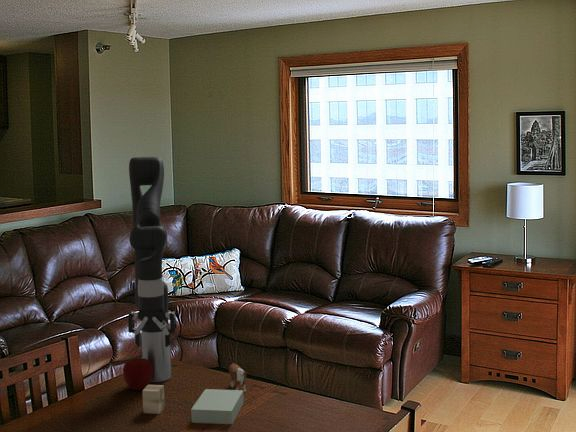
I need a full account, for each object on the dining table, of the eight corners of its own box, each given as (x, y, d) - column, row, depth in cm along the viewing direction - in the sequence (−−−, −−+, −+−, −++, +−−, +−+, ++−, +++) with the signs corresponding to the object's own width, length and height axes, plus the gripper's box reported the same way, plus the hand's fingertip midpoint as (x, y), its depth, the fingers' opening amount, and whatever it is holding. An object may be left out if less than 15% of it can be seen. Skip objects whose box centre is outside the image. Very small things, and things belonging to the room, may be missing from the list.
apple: (144, 395, 235) (143, 364, 234) (118, 392, 238) (116, 362, 237) (158, 384, 244) (157, 355, 243) (133, 382, 247) (131, 353, 246)
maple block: (149, 406, 226) (147, 384, 225) (164, 407, 225) (163, 385, 224) (143, 413, 221) (142, 390, 220) (159, 413, 220) (158, 391, 219)
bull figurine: (236, 397, 231) (235, 372, 230) (228, 383, 244) (227, 359, 243) (249, 396, 232) (249, 371, 231) (240, 381, 245) (240, 358, 244)
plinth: (205, 401, 229) (205, 389, 228) (243, 402, 227) (243, 390, 226) (191, 422, 213) (191, 409, 212) (232, 424, 211) (231, 410, 211)
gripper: (177, 290, 221) (179, 342, 223) (131, 290, 222) (134, 342, 224) (171, 296, 213) (173, 350, 215) (123, 296, 215) (126, 349, 217)
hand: (153, 346), depth 220 cm, fingers open, 8 cm apart
